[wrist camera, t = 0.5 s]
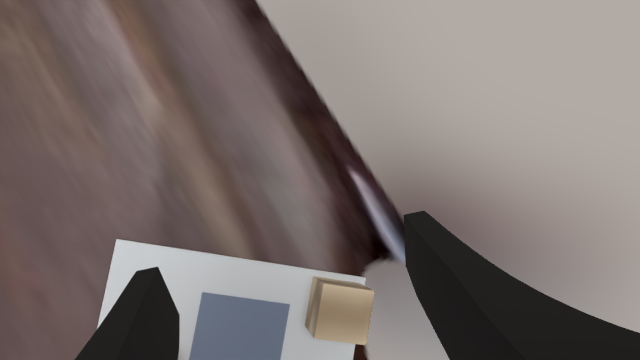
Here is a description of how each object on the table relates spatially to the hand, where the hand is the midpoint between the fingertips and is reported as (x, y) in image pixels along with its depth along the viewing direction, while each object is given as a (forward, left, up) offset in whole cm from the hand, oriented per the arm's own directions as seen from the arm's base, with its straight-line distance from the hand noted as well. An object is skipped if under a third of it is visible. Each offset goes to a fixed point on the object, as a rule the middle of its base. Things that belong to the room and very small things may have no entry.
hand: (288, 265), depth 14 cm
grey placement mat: (-9, 0, -25) cm, 26 cm away
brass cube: (-5, -8, -24) cm, 26 cm away
